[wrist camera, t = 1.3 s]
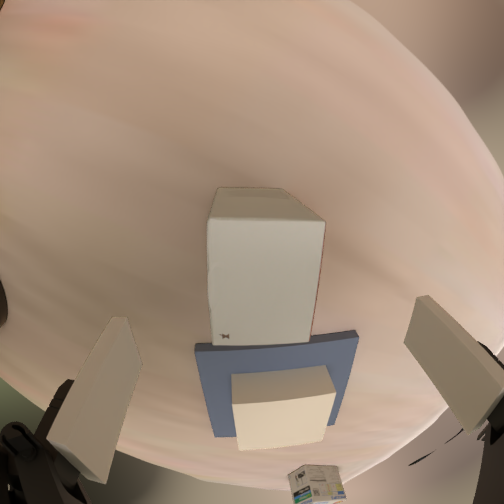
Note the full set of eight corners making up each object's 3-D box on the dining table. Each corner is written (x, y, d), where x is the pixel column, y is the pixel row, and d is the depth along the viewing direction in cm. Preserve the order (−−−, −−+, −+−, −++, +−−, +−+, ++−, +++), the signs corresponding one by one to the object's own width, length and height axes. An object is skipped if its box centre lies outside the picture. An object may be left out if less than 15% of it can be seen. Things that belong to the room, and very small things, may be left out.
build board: (214, 430, 39) (214, 461, 33) (195, 343, 32) (190, 382, 26) (331, 418, 40) (341, 447, 34) (354, 329, 33) (374, 362, 27)
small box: (279, 265, 29) (310, 345, 17) (217, 265, 28) (209, 348, 16) (283, 186, 26) (328, 220, 14) (216, 185, 26) (203, 218, 13)
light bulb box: (286, 474, 49) (293, 511, 39) (304, 463, 47) (313, 502, 37) (320, 476, 51) (328, 508, 41) (337, 465, 49) (348, 499, 39)
